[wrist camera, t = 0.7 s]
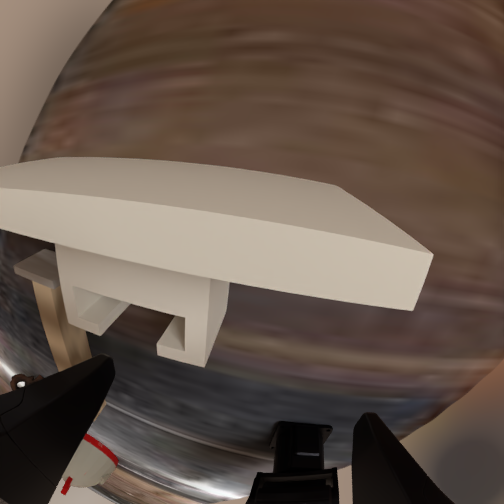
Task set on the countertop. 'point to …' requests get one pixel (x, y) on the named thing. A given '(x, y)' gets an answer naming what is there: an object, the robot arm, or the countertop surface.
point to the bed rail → (55, 311)
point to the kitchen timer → (89, 465)
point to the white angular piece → (202, 241)
